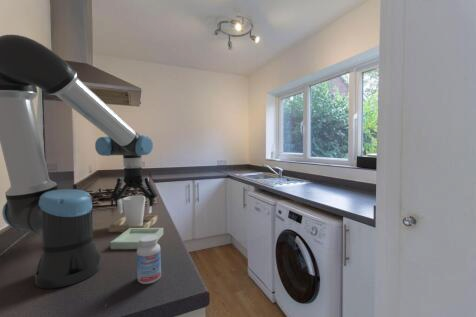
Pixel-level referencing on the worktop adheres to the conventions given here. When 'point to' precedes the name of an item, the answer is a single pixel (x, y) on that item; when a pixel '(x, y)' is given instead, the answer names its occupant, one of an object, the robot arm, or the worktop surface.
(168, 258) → the worktop surface
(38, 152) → the robot arm
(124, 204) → the foam cup
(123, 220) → the holder
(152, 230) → the tray
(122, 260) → the worktop surface
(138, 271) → the pill bottle
